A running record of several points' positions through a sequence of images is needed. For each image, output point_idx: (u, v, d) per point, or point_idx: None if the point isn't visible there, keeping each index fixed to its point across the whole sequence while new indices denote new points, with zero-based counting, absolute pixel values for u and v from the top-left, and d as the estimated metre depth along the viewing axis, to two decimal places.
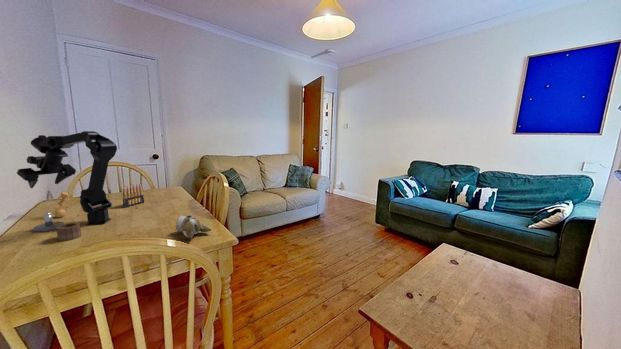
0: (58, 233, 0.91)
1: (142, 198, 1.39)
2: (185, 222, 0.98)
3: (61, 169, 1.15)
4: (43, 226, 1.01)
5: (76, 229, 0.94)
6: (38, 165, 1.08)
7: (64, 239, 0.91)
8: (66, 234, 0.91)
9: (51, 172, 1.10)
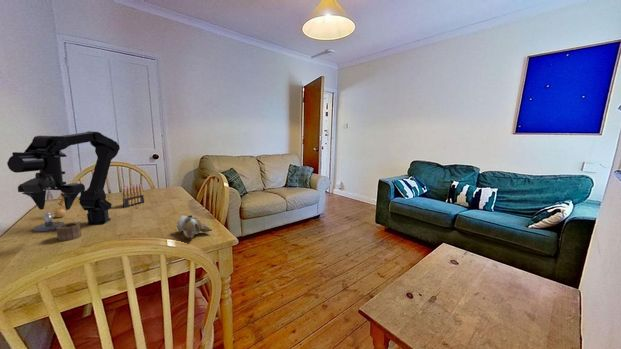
0: (58, 233, 0.91)
1: (142, 198, 1.39)
2: (186, 222, 0.98)
3: None
4: (43, 226, 1.01)
5: (76, 229, 0.94)
6: (53, 183, 0.87)
7: (64, 239, 0.91)
8: (66, 234, 0.91)
9: None
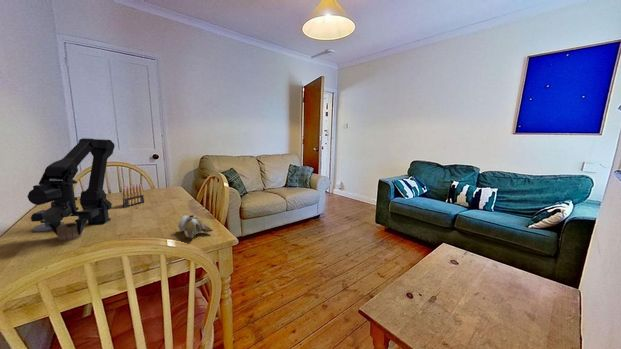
0: (58, 233, 0.91)
1: (142, 198, 1.39)
2: (187, 222, 0.99)
3: None
4: (43, 226, 1.01)
5: (76, 229, 0.94)
6: (70, 210, 0.91)
7: (64, 239, 0.91)
8: (66, 234, 0.91)
9: None
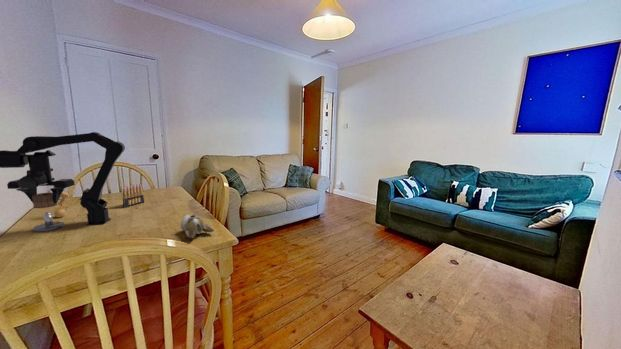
0: (34, 200, 0.96)
1: (142, 198, 1.39)
2: (188, 222, 0.99)
3: None
4: (43, 226, 1.01)
5: (52, 198, 0.99)
6: (46, 179, 0.96)
7: (39, 206, 0.97)
8: (41, 202, 0.97)
9: None
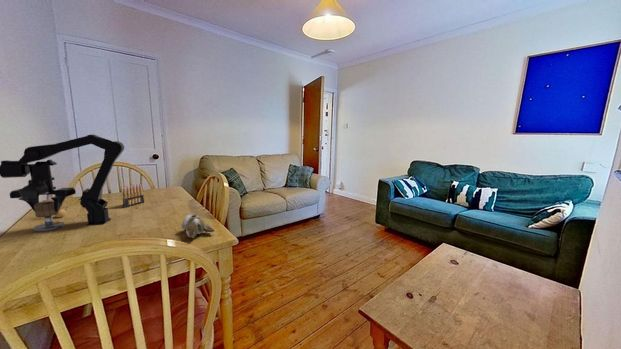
0: (36, 209, 0.97)
1: (142, 198, 1.39)
2: (189, 222, 0.99)
3: None
4: (43, 226, 1.01)
5: (53, 207, 1.00)
6: (47, 188, 0.97)
7: (41, 215, 0.98)
8: (43, 211, 0.98)
9: None
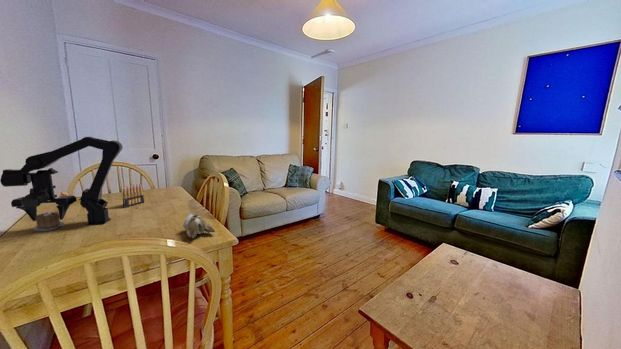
0: (37, 221, 0.98)
1: (142, 198, 1.39)
2: (190, 222, 0.99)
3: None
4: None
5: (55, 218, 1.01)
6: (48, 197, 0.98)
7: (43, 227, 0.99)
8: (45, 222, 0.98)
9: None
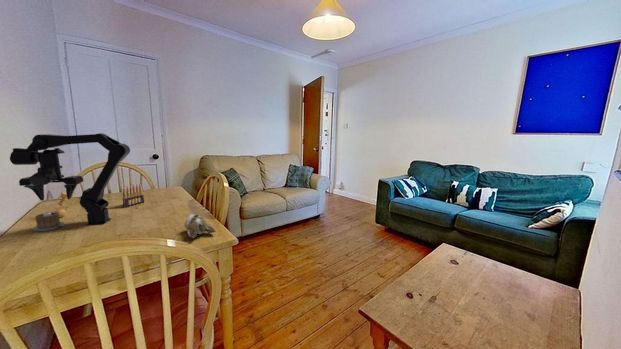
0: (37, 221, 0.98)
1: (142, 198, 1.39)
2: (191, 222, 0.99)
3: None
4: None
5: (55, 218, 1.01)
6: (56, 176, 0.99)
7: (43, 227, 0.99)
8: (45, 222, 0.98)
9: None
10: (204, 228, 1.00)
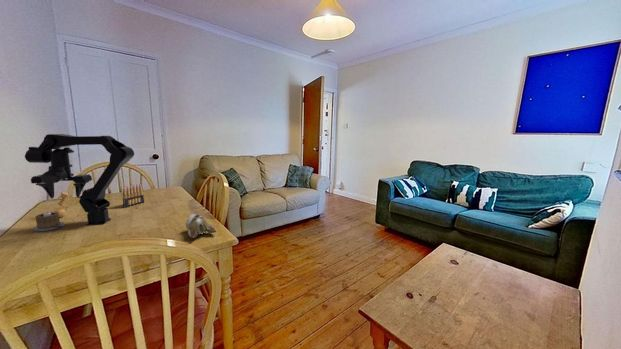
0: (37, 221, 0.98)
1: (142, 198, 1.39)
2: (192, 222, 0.99)
3: None
4: None
5: (55, 218, 1.01)
6: None
7: (43, 227, 0.99)
8: (45, 222, 0.98)
9: None
10: (205, 228, 1.00)
